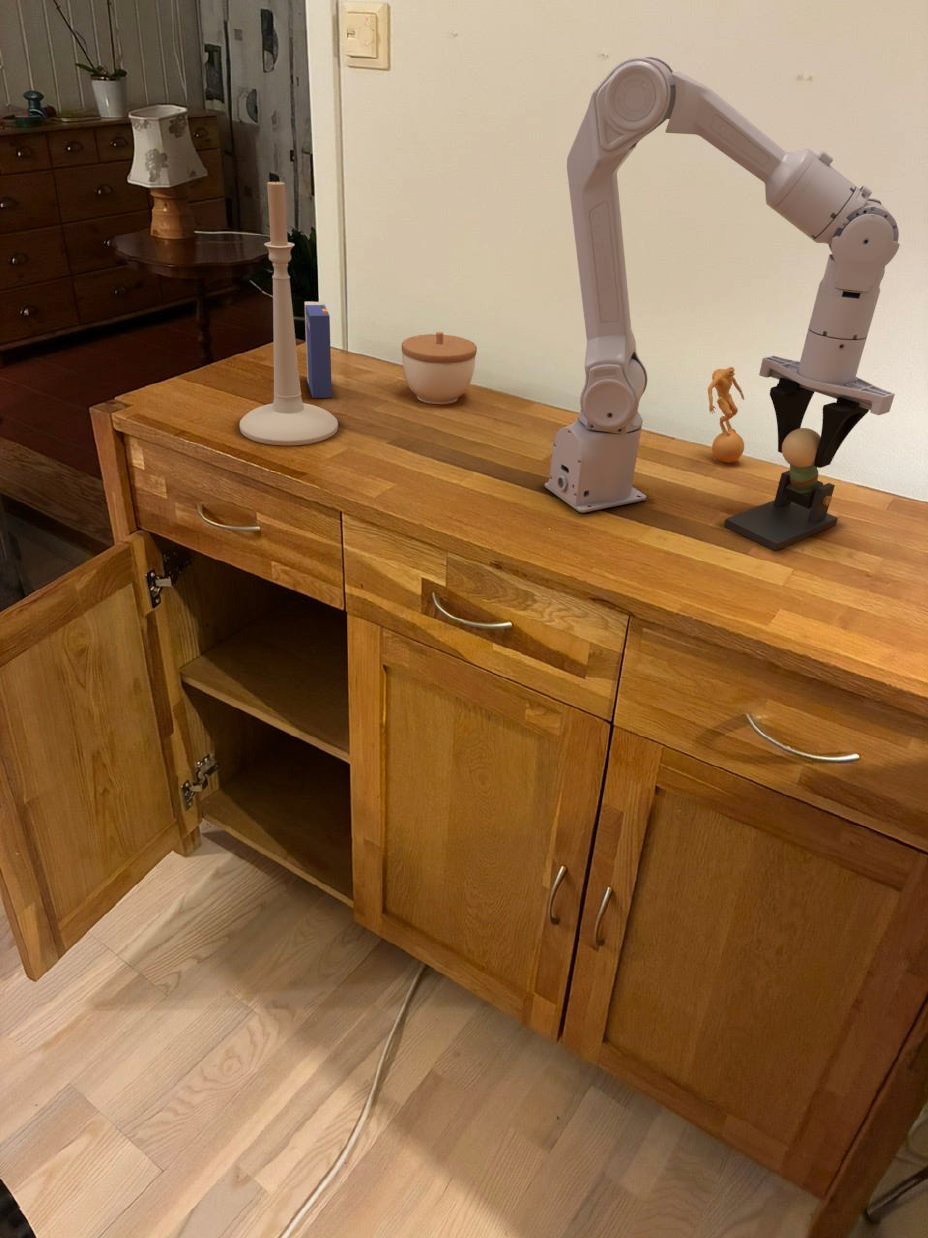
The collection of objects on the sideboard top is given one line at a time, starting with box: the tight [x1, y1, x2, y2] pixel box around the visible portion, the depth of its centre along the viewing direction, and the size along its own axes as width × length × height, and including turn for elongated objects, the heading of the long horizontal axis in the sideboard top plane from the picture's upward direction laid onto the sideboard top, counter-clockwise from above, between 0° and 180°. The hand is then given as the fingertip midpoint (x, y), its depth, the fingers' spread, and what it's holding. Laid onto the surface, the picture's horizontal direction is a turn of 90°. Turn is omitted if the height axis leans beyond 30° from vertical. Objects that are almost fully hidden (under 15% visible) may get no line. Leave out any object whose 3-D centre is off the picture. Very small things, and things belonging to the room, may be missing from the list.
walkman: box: [304, 301, 333, 399], centre depth 132 cm, size 8×3×12 cm, turn 14°
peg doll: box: [781, 427, 824, 509], centre depth 101 cm, size 4×4×10 cm
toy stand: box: [723, 469, 839, 552], centre depth 102 cm, size 12×7×5 cm, turn 128°
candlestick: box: [239, 178, 339, 446], centre depth 113 cm, size 13×13×30 cm
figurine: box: [707, 366, 745, 464], centre depth 116 cm, size 8×6×12 cm
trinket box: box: [401, 331, 478, 405], centre depth 132 cm, size 11×11×9 cm
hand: (803, 458), depth 100 cm, fingers closed on peg doll, 4 cm apart
